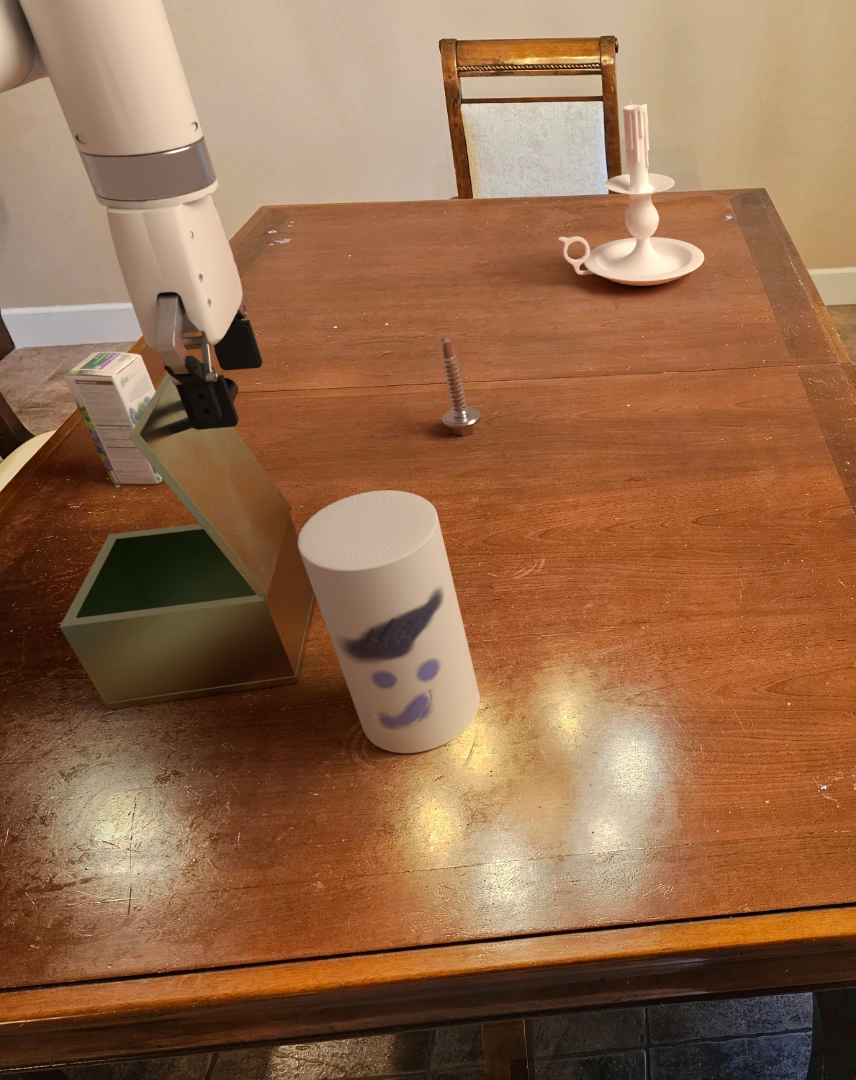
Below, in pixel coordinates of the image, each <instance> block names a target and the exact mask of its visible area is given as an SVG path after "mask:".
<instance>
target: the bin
mask: <svg viewBox="0 0 856 1080" xmlns="http://www.w3.org/2000/svg"><path fill="white" fill-rule="evenodd" d="M298 536H299V535H298V533H297V531H296V527H295V524H294V522H293V519H292V516H291V515H290V517H289V521H288V524H287V528H286V531H285V535H284V538H283V542H282V546H281V549H280V553H279V556H278V560H277V563H276V567H275V571H274V574H273V578H272V581H271V585H270V588H269V592H268V594H267V595H265V596H262V597H259V596H258V595H257V594H256V593H255V592H254V590H253V589H252V588H251V587H250V585H249V584H248V583H247V582H246V581H245V579H244V578H243V577H242V576H241V574H240V573H239V572H238V571H237V570H236V568H235V567H234V566H233V565H232V563H231V562H230V561H229V560H228V558H227V557H226V556H225V555H224V554H223V552H222V551H221V550H220V549H219V547H218V546H217V545H216V544H215V543H214V541H213V540H212V539H211V538H210V536H209V535H208V534H207V533H206V532H205V530H204V529H203V528H202V527H201V525H200V524H199V523H196V524H195V523H194V524H185V525H178V526H169V527H161V528H160V527H159V528H151V529H143V530H133V531H126V532H125V531H124V532H116V533H109V534H108V535H107V537H106V539H105V541H104V543H103V545H102V547H101V549H100V550H99V552H98V554H97V556H96V558H95V560H94V562H93V564H92V565H91V567H90V569H89V571H88V572H87V574H86V577H85V579H84V580H83V583H82V584H81V586H80V588H79V590H78V592H77V594H76V596H75V597H74V599H73V601H72V603H71V605H70V607H69V609H68V610H67V612H66V614H65V616H64V618H63V620H62V621H61V623H60V625H59V629H60V630H61V632H62V633H63V635H64V637H65V638H66V640H67V642H68V645H70V647H71V649H72V650H73V652H74V654H75V656H76V657H77V659H78V660H79V662H80V664H81V666H82V667H83V669H84V671H85V672H86V674H87V676H88V677H89V680H90V681H91V682H92V684H93V686H94V688H95V689H96V691H97V692H98V693H97V694H98V695H99V696H100V698H101V700H102V701H103V703H104V704H105V706H106V708H107V709H108V710H110V711H111V710H118V709H124V708H131V707H138V706H145V705H146V706H147V705H153V704H159V703H166V702H167V703H168V702H174V701H180V700H188V699H195V698H202V697H209V696H215V695H216V696H217V695H221V694H223V695H224V694H230V693H236V692H244V691H249V690H250V691H251V690H257V689H265V688H273V687H278V686H285V685H286V686H287V685H292V684H293V685H294V684H298V683H299V681H300V677H301V671H302V666H303V662H304V658H305V652H306V648H307V643H308V639H309V633H310V630H311V625H312V620H313V615H314V610H315V607H316V606H315V605H316V602H317V599H316V596H315V593H314V591H313V588H312V585H311V582H310V579H309V577H308V574H307V571H306V568H305V565H304V563H303V560H302V557H301V554H300V551H299V549H298Z"/></svg>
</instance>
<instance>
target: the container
mask: <svg viewBox="0 0 856 1080" xmlns="http://www.w3.org/2000/svg"><path fill="white" fill-rule="evenodd" d="M438 515H439V514H438V512H437V509H436V508H435V506H434V505H433V503H431V501H429V500H428V499H427V498H424V497H423V496H421V495H418V494H415V493H412V492H408V491H402V490H388V489H387V490H385V489H384V490H383V489H382V490H373V491H367V492H362V493H357V494H353V495H350V496H347V497H343V498H341V499H339V500H337V501H334V502H332V503H330V504H328V505H326V506H325V507H323V508H321V509H320V510H318V511H317V512H316V513H315V514H313V515H312V516H311V517H310V518H309V519H308V520H307V521H306V522H305V523H304V525H303V526H302V528H301V529H300V531H299V534H298V535H297V536H298V549H299V551H300V554H301V557H302V560H303V563H304V565H305V568H306V571H307V574H308V577H309V579H310V582H311V585H312V588H313V591H314V593H315V596H316V602H317V605H318V607H319V610H320V613H321V616H322V618H323V621H324V625H325V627H326V630H327V633H328V635H329V638H330V641H331V644H332V646H333V650H334V652H335V654H336V655H335V656H336V658H337V660H338V664H339V666H340V669H341V672H342V675H343V677H344V680H345V683H346V685H347V688H348V692H349V694H350V697H351V699H352V700H351V701H352V702H353V703H352V704H353V705H354V708H355V711H356V714H357V717H358V719H359V722H360V725H361V729H362V731H363V734H364V735H365V736H366V738H367V739H368V740H369V741H370V742H371V743H372V744H373V745H374V746H377V747H378V748H380V749H381V750H385V751H387V752H391V753H399V754H413V753H421V752H422V753H423V752H426V751H430V750H433V749H436V748H438V747H441V746H443V745H445V744H447V743H449V742H450V741H452V740H454V739H456V738H457V737H458V736H459V735H461V734H462V733H463V732H464V731H465V730H467V728H468V727H469V726H470V725H471V723H473V721H474V720H475V718H476V715H477V714H478V712H479V709H480V703H481V694H480V690H479V686H478V681H477V677H476V673H475V670H474V669H475V668H474V665H473V661H472V656H471V652H470V648H469V643H468V639H467V635H466V631H465V626H464V623H463V617H462V613H461V609H460V605H459V601H458V600H459V599H458V597H457V593H456V588H455V583H454V580H453V575H452V571H451V570H452V569H451V567H450V566H451V565H450V563H449V557H448V553H447V550H446V545H445V542H444V537H443V532H442V528H441V523H440V520H439V516H438Z"/></svg>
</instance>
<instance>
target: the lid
mask: <svg viewBox="0 0 856 1080" xmlns="http://www.w3.org/2000/svg"><path fill="white" fill-rule="evenodd" d="M224 378H225V381H226V384H227V387H228V390H229V393H230V395H231V398H232V401H233V403H234V402H235V400H236V398H237V395H238V393H239V386H238V384H237V383H236V381H234V380H233V379H231V378H230V377H229V378H228V377H224ZM155 391H156V392H155V394H154V396H153V397H152V399H151V401H150V402H149V404H148V406H147V408H146V409H145V411H144V413H143V414H142V416H141V418H140V419H139V421H138V423H137V425H136V426H135V428H134V430H133V431H132V433H131V435H130V437H129V438H130V440H131V441H132V442H133V443H134V445H135V446H136V447H137V448H138V449H139V451H140V452H141V453H142V454H143V456H144V457H145V458H146V459H147V461H148V462H149V463H150V464H151V465H152V467H153V468H154V469H155V470H156V472H157V473H158V474H159V475H160V476H161V478H162V479H163V480H162V481H164V483H165V484H166V485H167V486H168V487H169V489H170V490H171V491H172V493H173V494H174V495H175V496H176V497H177V499H178V500H179V501H180V503H181V504H182V505H183V506H184V507H185V509H187V511H188V512H189V513H190V515H191V516H192V517H193V518H194V519H195V521H196V522H197V524H200V525H201V527H202V528H203V529H204V530H205V532H206V533H207V534H208V535H209V536H210V538H211V539H212V540H213V541H214V543H215V544H216V545H217V546H218V547H219V549H220V550H221V551H222V552H223V554H224V555H225V556H226V557H227V558H228V560H229V561H230V562H231V563H232V565H233V566H234V567H235V568H236V570H237V571H238V572H239V573H240V574H241V576H242V577H243V578H244V579H245V581H246V582H247V583H248V584H249V585H250V587H251V588H252V589H253V590H254V592H255V593H256V594H257V595H258V596H259V597H262V596H265V595H267V594H268V592H269V588H270V585H271V581H272V578H273V574H274V571H275V567H276V563H277V560H278V556H279V553H280V549H281V546H282V542H283V538H284V535H285V531H286V528H287V524H288V521H289V517H290V516H291V514H292V510H293V507H292V505H291V504H290V503H289V502H288V500H287V499H286V498H285V496H284V495H283V493H282V492H281V491H280V489H279V488H278V486H277V485H276V484H275V482H274V480H273V479H272V478H271V477H270V475H269V474H268V472H267V471H266V469H265V468H264V467H263V466H262V464H261V463H260V462H259V460H258V459H257V457H256V455H255V454H254V453H253V452H252V450H251V449H250V448H249V446H248V444H247V443H246V442H245V441H244V439H243V438H242V436H241V435H240V434H239V432H238V431H237V429H236V428H235V426H234V427H225V428H213V429H202V430H196V429H194V428H192V426H191V424H190V422H189V419H188V416H187V414H186V411H185V409H184V406H183V403H182V401H181V398H180V396H179V393H178V391H177V388H176V385H174V384H173V383H172V381H171V378H170V374H169V373H168V372H167V371H166V373H165V375H164V377H163V379H162V380H161V382H160V383H159V385H158V387H157V389H155Z"/></svg>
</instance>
